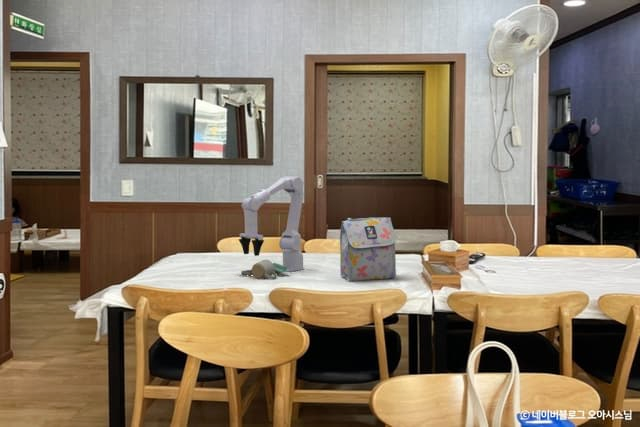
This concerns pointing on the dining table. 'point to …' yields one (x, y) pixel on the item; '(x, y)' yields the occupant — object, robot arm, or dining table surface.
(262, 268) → the ceramic mug
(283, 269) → the cover
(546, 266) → the dining table surface
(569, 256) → the dining table surface
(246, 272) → the grey open box
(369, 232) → the lunch bag
